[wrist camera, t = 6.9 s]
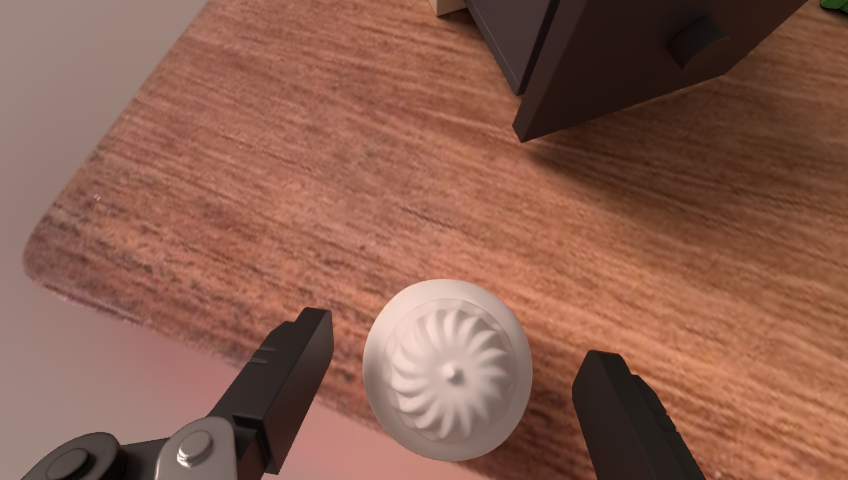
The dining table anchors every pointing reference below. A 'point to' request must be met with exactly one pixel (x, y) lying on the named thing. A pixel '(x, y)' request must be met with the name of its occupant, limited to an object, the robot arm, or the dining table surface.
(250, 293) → the dining table surface
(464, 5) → the cabinet
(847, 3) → the fruit basket
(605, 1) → the pulled-out nightstand drawer
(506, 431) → the muffin
